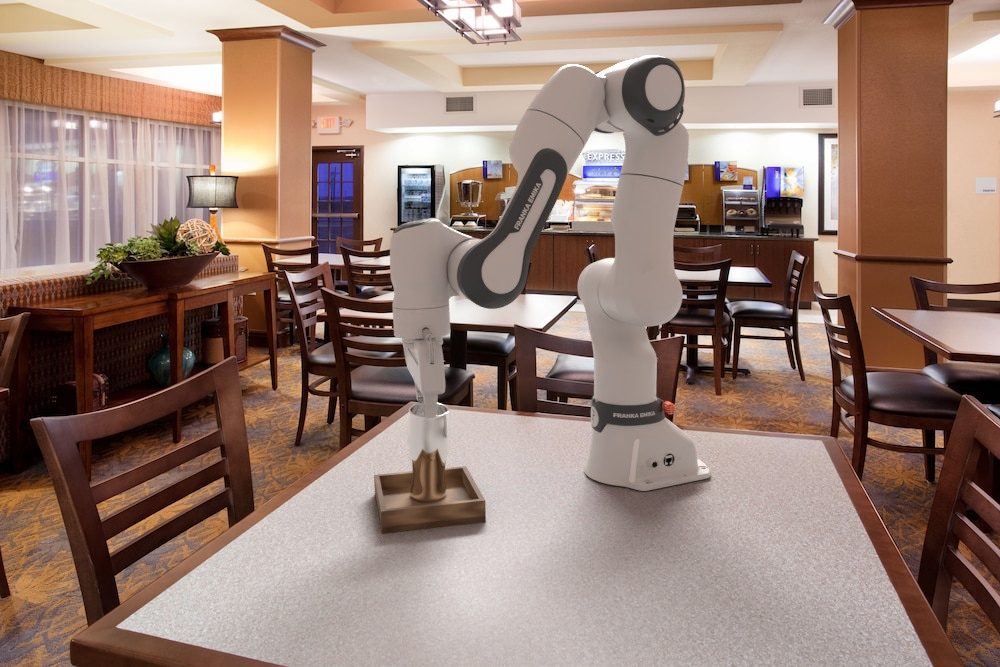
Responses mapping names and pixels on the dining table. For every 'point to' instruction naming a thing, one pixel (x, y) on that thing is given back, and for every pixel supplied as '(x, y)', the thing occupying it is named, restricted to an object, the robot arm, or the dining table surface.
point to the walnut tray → (412, 514)
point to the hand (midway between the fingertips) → (426, 409)
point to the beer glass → (428, 452)
